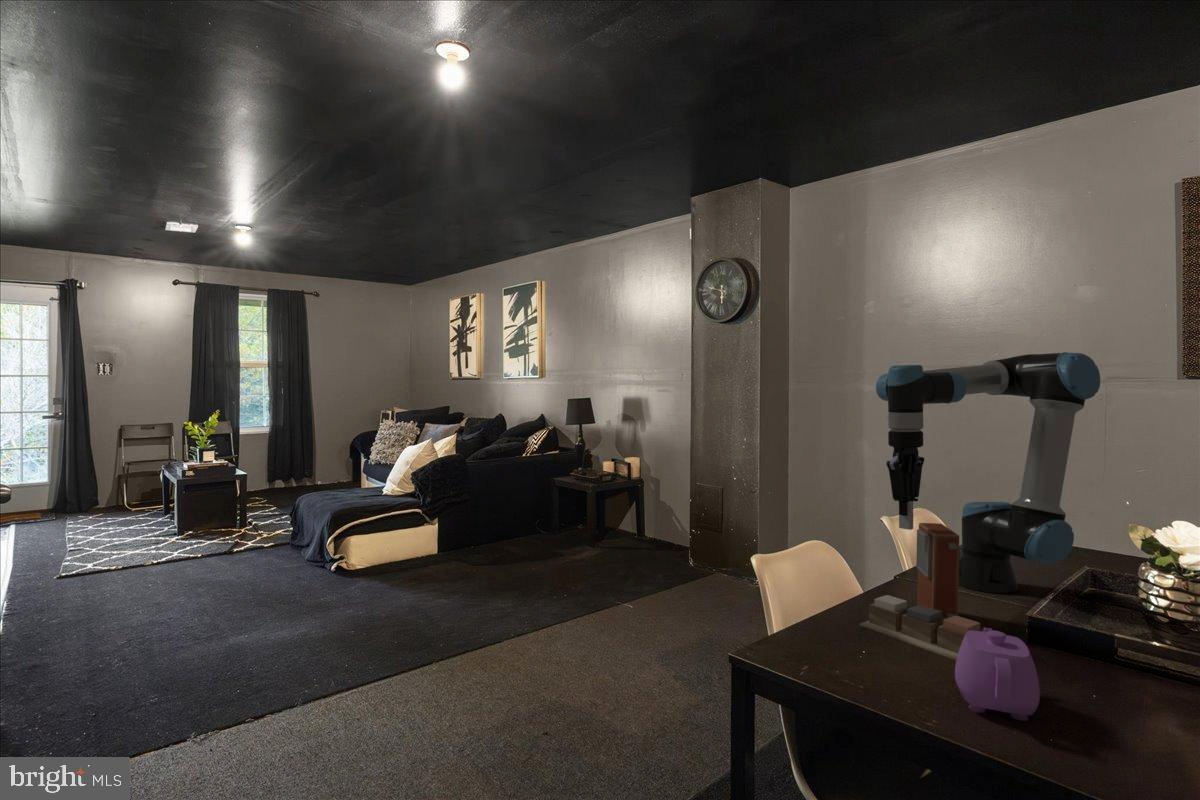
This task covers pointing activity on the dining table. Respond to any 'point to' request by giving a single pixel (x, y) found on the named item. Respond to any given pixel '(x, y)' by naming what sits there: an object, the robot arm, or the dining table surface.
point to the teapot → (997, 674)
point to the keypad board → (915, 631)
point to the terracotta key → (960, 625)
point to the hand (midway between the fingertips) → (906, 528)
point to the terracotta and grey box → (938, 568)
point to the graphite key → (924, 614)
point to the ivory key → (890, 603)
